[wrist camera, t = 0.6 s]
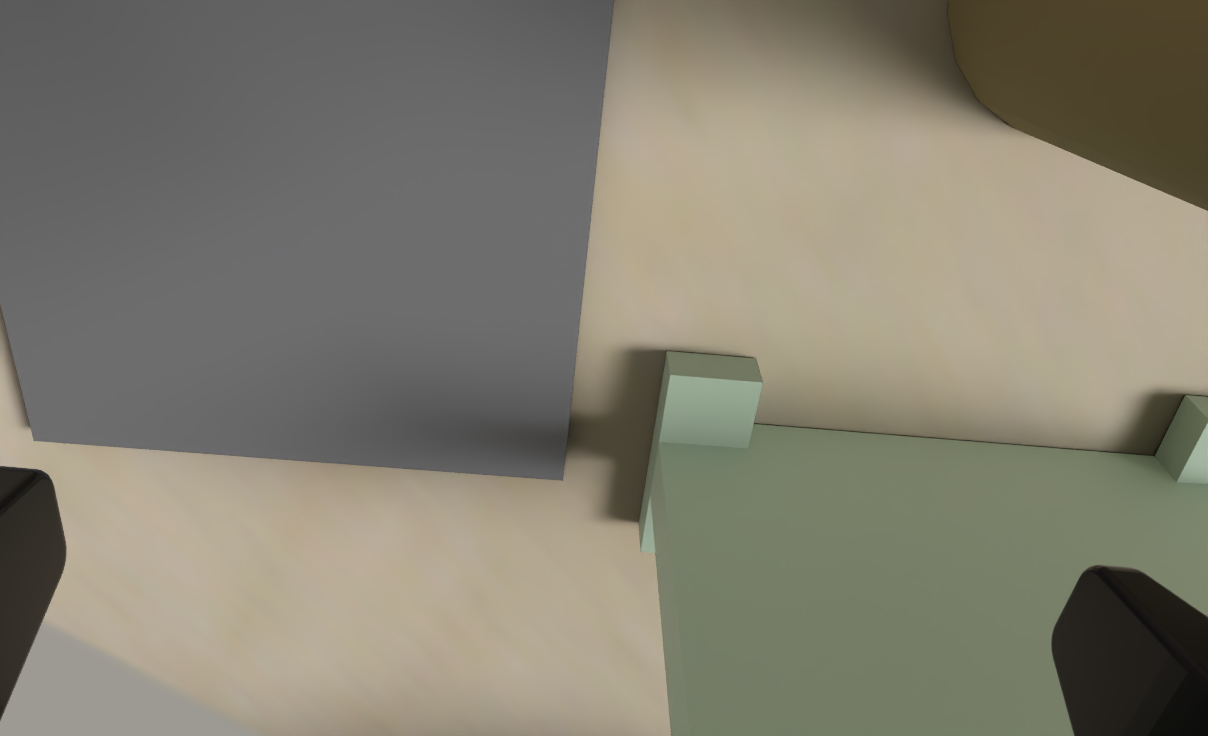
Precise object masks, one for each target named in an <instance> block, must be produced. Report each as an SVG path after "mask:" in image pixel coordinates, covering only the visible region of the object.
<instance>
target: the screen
mask: <svg viewBox="0 0 1208 736" xmlns="http://www.w3.org/2000/svg"><path fill="white" fill-rule="evenodd" d="M762 385H763V381H762V377H761V374H760V370H759V367H758V364H757V360H756V358H744V357H732V356H720V355H708V354H697V353H685V352H673V351H667V354H666V360H665V366H664V372H663V378H662V384H661V390H660V397H659V403H658V409H657V415H656V421H655V427H654V433H653V440H652V446H651V452H650V458H649V464H648V470H647V477H646V483H645V489H644V495H643V501H642V507H641V513H640V520H639V535H640V550H641V552H649V553H655V555H656V567H657V578H658V590H659V601H660V613H661V624H662V636H663V647H664V658H665V670H666V681H667V693H668V704H669V716H670V727H671V736H1074V734H1073V730H1072V726H1071V723H1070V719H1069V715H1068V712H1067V708H1066V704H1065V701H1064V697H1063V693H1062V689H1061V686H1060V682H1059V678H1058V675H1057V671H1056V667H1055V664H1054V660H1053V656H1052V648H1051V640H1052V633H1053V629H1054V626H1055V624H1056V622H1057V620H1058V618H1059V616H1060V614H1061V612H1062V610H1063V608H1064V606H1065V604H1066V602H1067V601H1068V599H1069V597H1070V595H1071V593H1072V591H1073V589H1074V587H1075V585H1076V583H1077V581H1078V579H1079V577H1080V576H1081V574H1082V572H1083V571H1085V570H1086V569H1087V568H1088V567H1090V566H1093V565H1109V566H1120V567H1130V568H1135V569H1138V570H1140V571H1142V572H1144V573H1145V574H1147V575H1148V576H1150V577H1151V578H1153V579H1154V580H1155V581H1157V582H1158V583H1160V584H1161V585H1163V586H1164V587H1166V588H1167V589H1169V590H1170V591H1171V592H1173V593H1174V594H1176V595H1177V596H1179V597H1180V598H1182V599H1183V600H1184V601H1186V602H1187V603H1189V604H1190V605H1192V606H1193V607H1195V608H1196V609H1197V610H1199V611H1200V612H1202V613H1203V614H1205V615H1206V616H1208V397H1204V396H1192V395H1185V397H1184V399H1183V401H1182V403H1181V405H1180V407H1179V409H1178V411H1177V413H1176V415H1175V417H1174V419H1173V421H1172V423H1171V425H1170V427H1169V429H1168V431H1167V433H1166V435H1165V437H1164V439H1163V440H1162V442H1161V444H1160V446H1159V448H1158V450H1157V452H1156V454H1155V456H1147V455H1134V454H1122V453H1109V452H1097V451H1084V450H1072V449H1059V448H1047V447H1034V446H1022V445H1009V444H997V443H984V442H972V441H959V440H947V439H934V438H922V437H909V436H897V435H884V434H872V433H859V432H847V431H835V430H822V429H810V428H797V427H785V426H772V425H760V424H754V420H755V416H756V411H757V407H758V403H759V398H760V394H761V389H762Z"/></svg>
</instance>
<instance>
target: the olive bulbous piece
mask: <svg viewBox="0 0 1208 736" xmlns="http://www.w3.org/2000/svg"><path fill="white" fill-rule="evenodd" d="M947 13H948V19H949V25H950V31H951V37H952V43H953V49H954V55H955V61H956V63H957V65H958V66H959V68H960V70H961V71H962V73H963V75H964V77H965V78H966V80H967V82H968V84H969V85H970V87H971V89H972V91H973V92H974V94H975V96H976V98H977V99H978V101H979V102H981V103H982V104H983V105H984V106H986V107H987V108H988V109H989V110H991V111H992V112H993V113H995V114H996V115H997V116H998V117H1000V118H1001V119H1002V120H1004V121H1005V122H1006V123H1007V124H1009V125H1010V126H1011V127H1012V128H1015V129H1017V130H1019V131H1022V132H1024V133H1026V134H1029V135H1031V136H1033V137H1036V138H1038V139H1040V140H1043V141H1045V142H1047V143H1050V144H1052V145H1054V146H1057V147H1059V148H1062V149H1064V150H1066V151H1069V152H1071V153H1073V154H1076V155H1078V156H1080V157H1083V158H1085V159H1087V160H1090V161H1092V162H1094V163H1097V164H1099V165H1101V166H1104V167H1106V168H1109V169H1111V170H1113V171H1116V172H1118V173H1120V174H1123V175H1125V176H1127V177H1130V178H1132V179H1134V180H1137V181H1139V182H1141V183H1144V184H1146V185H1148V186H1151V187H1153V188H1155V189H1158V190H1160V191H1163V192H1165V193H1167V194H1170V195H1172V196H1174V197H1177V198H1179V199H1181V200H1184V201H1186V202H1188V203H1191V204H1193V205H1195V206H1198V207H1200V208H1202V209H1205V210H1207V211H1208V0H949V4H948V11H947Z"/></svg>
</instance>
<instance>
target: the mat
mask: <svg viewBox="0 0 1208 736" xmlns="http://www.w3.org/2000/svg"><path fill="white" fill-rule="evenodd" d="M613 4H614V0H0V306H1V310H2V314H3V318H4V322H5V326H6V330H7V334H8V338H9V342H10V346H11V350H12V354H13V359H14V363H15V367H16V371H17V375H18V379H19V383H20V387H21V391H22V395H23V399H24V403H25V407H26V411H27V415H28V419H29V423H30V427H31V431H32V435H33V439H34V441H44V442H57V443H70V444H83V445H97V446H110V447H123V448H137V449H150V450H163V451H177V452H190V453H203V454H217V455H230V456H243V457H257V458H270V459H283V460H297V461H310V462H323V463H337V464H350V465H363V466H377V467H390V468H403V469H417V470H430V471H443V472H457V473H470V474H483V475H496V476H510V477H523V478H536V479H550V480H563V475H564V465H565V456H566V447H567V437H568V428H569V418H570V409H571V400H572V390H573V381H574V371H575V362H576V352H577V343H578V334H579V324H580V315H581V305H582V296H583V287H584V277H585V268H586V258H587V249H588V239H589V230H590V221H591V211H592V202H593V192H594V183H595V174H596V164H597V155H598V145H599V136H600V126H601V117H602V108H603V98H604V89H605V79H606V70H607V61H608V51H609V42H610V32H611V23H612V13H613Z"/></svg>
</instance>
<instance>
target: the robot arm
mask: <svg viewBox="0 0 1208 736" xmlns="http://www.w3.org/2000/svg"><path fill="white" fill-rule="evenodd" d="M65 561H66V541H65V536H64V531H63V527H62V522H61V517H60V512H59V508H58V503H57V498H56V493H55V489H54V485H53V482H52V480H51V478H50V477H49V475H48V474H46V473H45V472H43V471H41V470H38V469H27V468H16V467H5V466H0V720H1V718H2V715H3V713H4V711H5V708H6V706H7V704H8V701H9V699H10V697H11V694H12V692H13V689H14V687H15V685H16V682H17V680H18V678H19V675H20V673H21V671H22V668H23V665H24V663H25V661H26V659H27V656H28V654H29V652H30V649H31V646H32V645H33V642H34V640H35V637H36V635H37V633H38V630H39V628H40V626H41V623H42V621H43V618H44V616H45V614H46V611H47V609H48V607H49V604H50V602H51V599H52V597H53V595H54V592H55V590H56V588H57V585H58V583H59V580H60V578H61V576H62V573H63V570H64V566H65ZM1051 648H1052V656H1053V660H1054V664H1055V667H1056V671H1057V675H1058V678H1059V682H1060V686H1061V689H1062V693H1063V697H1064V701H1065V704H1066V708H1067V712H1068V715H1069V719H1070V723H1071V726H1072V730H1073V734H1074V736H1208V616H1206V615H1205V614H1203V613H1202V612H1200V611H1199V610H1197V609H1196V608H1195V607H1193V606H1192V605H1190V604H1189V603H1187V602H1186V601H1184V600H1183V599H1182V598H1180V597H1179V596H1177V595H1176V594H1174V593H1173V592H1171V591H1170V590H1169V589H1167V588H1166V587H1164V586H1163V585H1161V584H1160V583H1158V582H1157V581H1155V580H1154V579H1153V578H1151V577H1150V576H1148V575H1147V574H1145V573H1144V572H1142V571H1140V570H1138V569H1135V568H1130V567H1120V566H1109V565H1093V566H1090V567H1088V568H1087V569H1086V570H1085V571H1083V572H1082V574H1081V576H1080V577H1079V579H1078V581H1077V583H1076V585H1075V587H1074V589H1073V591H1072V593H1071V595H1070V597H1069V599H1068V601H1067V602H1066V604H1065V606H1064V608H1063V610H1062V612H1061V614H1060V616H1059V618H1058V620H1057V622H1056V624H1055V626H1054V629H1053V633H1052V640H1051Z"/></svg>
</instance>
